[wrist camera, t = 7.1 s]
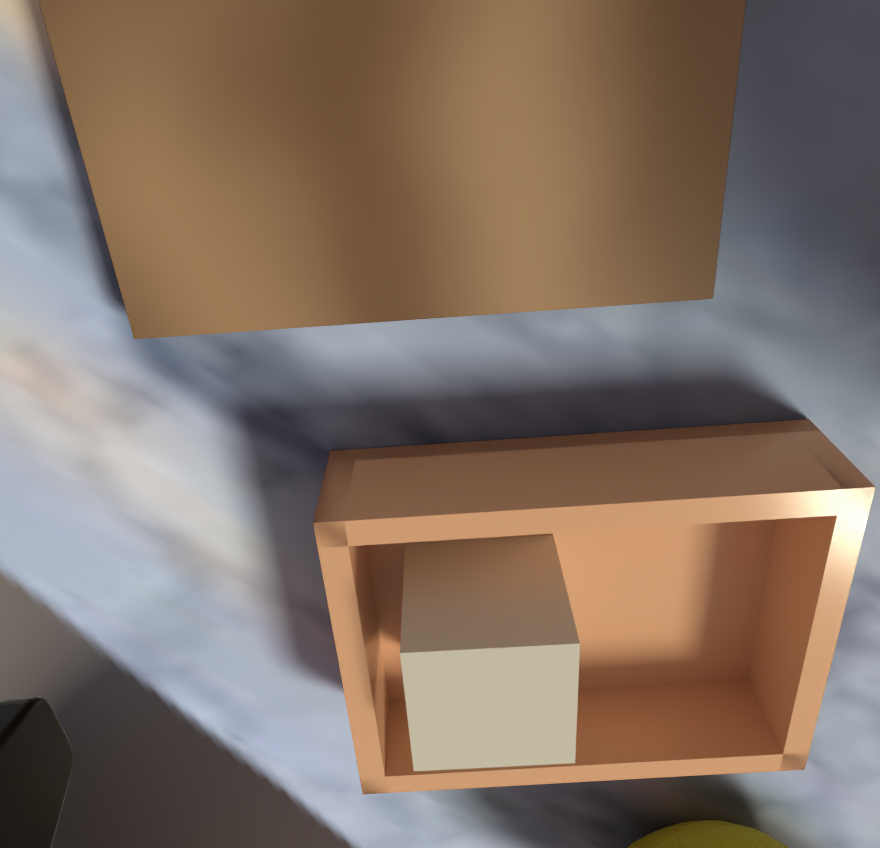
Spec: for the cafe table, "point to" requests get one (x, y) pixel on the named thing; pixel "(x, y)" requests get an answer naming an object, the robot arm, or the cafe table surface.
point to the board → (399, 154)
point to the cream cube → (488, 654)
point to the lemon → (707, 836)
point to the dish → (616, 588)
